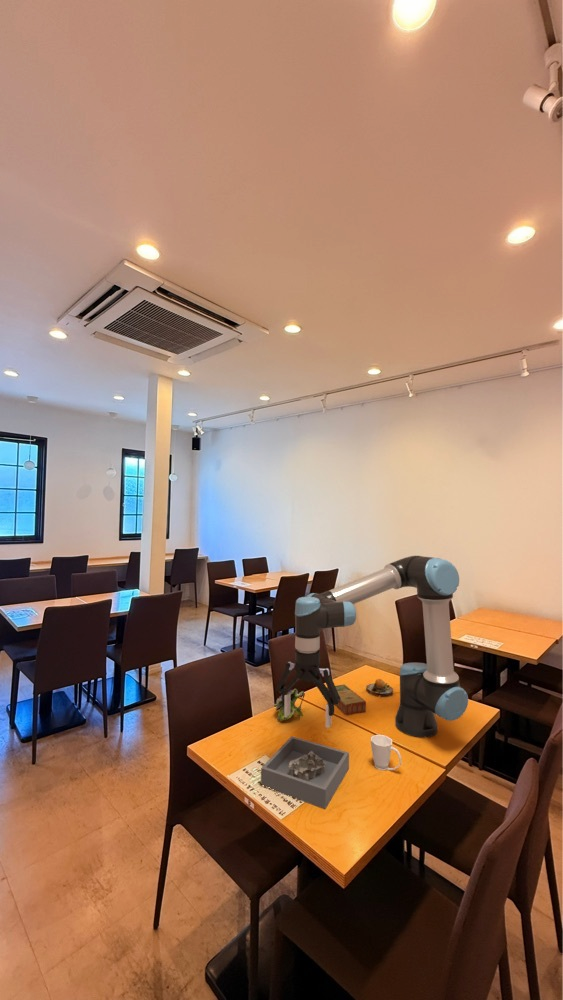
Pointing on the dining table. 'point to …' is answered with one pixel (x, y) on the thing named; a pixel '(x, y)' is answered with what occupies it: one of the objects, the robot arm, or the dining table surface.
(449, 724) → the dining table surface
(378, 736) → the cup
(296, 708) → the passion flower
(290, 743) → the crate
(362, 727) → the dining table surface
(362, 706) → the carton
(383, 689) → the brown food dish
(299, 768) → the egg carton
